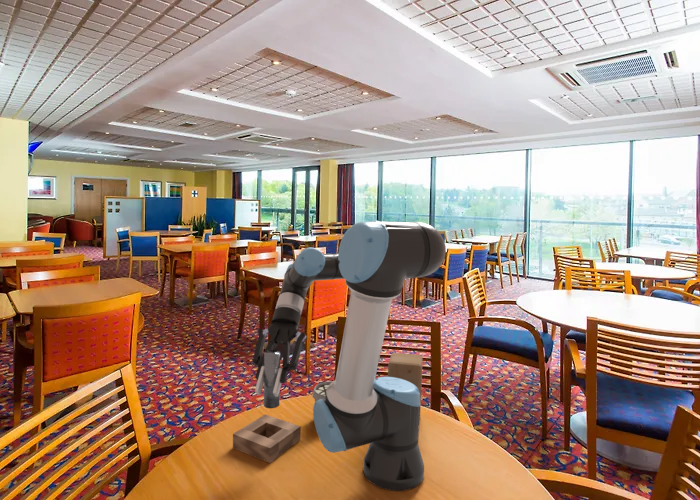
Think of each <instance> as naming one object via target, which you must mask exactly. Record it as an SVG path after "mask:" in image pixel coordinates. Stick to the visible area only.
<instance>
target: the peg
mask: <svg viewBox="0 0 700 500" xmlns="http://www.w3.org/2000/svg"><path fill="white" fill-rule="evenodd" d="M264 351H265V350H264ZM264 351H263V353H264V384H263V408H266V409H276V408H278V407H279V406H280V400H281V399H280V397H281V395H280V391H279V395H278V397H275V396H274V394H273V390H274V386H275V382H276V378H277V374H278V370H279V368H281V351H280V350H278V349H274V350H268V351H265V352H264Z"/></svg>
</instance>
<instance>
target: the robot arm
mask: <svg viewBox="0 0 700 500" xmlns="http://www.w3.org/2000/svg"><path fill="white" fill-rule="evenodd" d="M446 253H447V249H446V242H445V240H444V238H443V236H442V234H441V233H440V232H439V231H438V230H437V229H436V228H434V227H433V226H432V225H430V224H428V223H425V222H420V221H379V220H369V221H362V222H361V221H360V222H356V223H354V224H353V225H352V226H351V227H349V228H348V229H347V230H346V231H345V233H344V234H343V236H342V238H341V241H340V244H339V247H338V253H323V252H322V251H321V250H320V249H317V248H315V247H305V248H304V249H303V250H301V251H300V253H299V254H298V255H297V256H296V257H295V258H294V261H293V263H292V264H291V263H290V264H289V265H288V266H287V268H286V271H285V273H284V275H283V276H284V277H283V281H282V285H281V289H280V293H279V295H278V299H277V302H276V304H275V305H276V306H275V309H274V312H273V315H272V319H271V323H270V325H269V326H268V328H265V329H262V328H258V330H257V333H258V338H257V341H256V346H255V350H254V354H253V356H252V363H253V364H254V366H255V367H256V368H257V369H256V374H255V375H254V376H255V377H254V378H255V379H256V385H255V387H254V391H255V393H256V395H258V396H261V394H262V390H263V389H264V352H265V351H268V350H276V348H277V346H278V345H280V344H282V345H283V349H282V351H283V352H282V365H281V366H282V367H280V368H279V370H278V374H277V378H276V382H275V386H274V390H273V394H274V396H275V397H278V395H279V391H280V390H281V387H282V384H285V383H286V381H287V377H288V374H289V372H290V371H296V370H297V366H298V363H299V359H300V356H301V352H302V348H303V345H304V343H305V342H306V340H307V335H306V333H305V332H300V331H299V326H300V321H301V318H302V317H301V315H302V313H303V309H304V305H305V302H306V301H305V300H306V296H307V292H308V289H309V288H310V286H311V285H312V284H313V283H314V281H315V282H316V281H329V280H330V281H331V280H345V285H346V286H347V288H348V289H349V290H350V295H349V301H348V307H347V312H346V318H345V324H344V329H343V334H342V335H343V336H342V341H341V346H340V347H341V348H340V353H339V357H338V358H339V359H338V363H337V370H336V373H335V374H336V375H335V380H333V382H332V383H330V385H329V386H328V388H327V392H326V397H325V399H319V400H318V401H316V402H315V401H314V403H313V407H312V410H313V411H312V415H313V423H314V427H315V430H316V434H317V435H318V438H319V441H320V443H321V444H322V447H324V448H325V450H327V452H329V453H339V452H347V451H348V450H352V449H355V448H359V447H361V446H366V445H368V444H369V445H368V447H367V450H366V453H365V456H364V457H363V468H362V469H363V474H364V476H365V478H366V479H367V480H368V481H369V483H371V484H372V485H374V486H376V487H378V488H381V489H384V490H387V491H395V492H396V491H397V492H401V491H403V492H404V491H409V490H412V489H414V488H417V487H418V486H419V485H420V484H421V483H422V482H423V480H424V478H425V463H424V460H423V457H422V453H421V449H420V445H419V433H420V432H419V431H420V429H419V428H420V423H419V414H420V415H421V409H420V406H422V405H421V404H422V403H421V404H420V392H419V390H418V388H417V387H416V386H415V385H414V384H412V383H411V382H408V381H406V380H403V379H399V378H394V377H388V376H381V377H380V376H379V377H377V378H376V376H377V372H378V366H379V362H380V357H381V354H382V353H381V352H382V349H383V343H384V338H385V334H386V329H387V325H388V321H389V315H390V311H391V308H392V307H391V305H392V302H393V300H394V299H396V298H397V297H399V296H401V294H402V290H403V287H404V282H405V280H407V279H417V278H423V277H426V276H427V277H428V276H429V275H432V274H433V273H435V272H436V271H438V269H439V268H440V267H441V266H442V265H443V262H444V261H445V258H446ZM268 334H269V336H270V338H269V339H268V340H269V341H268V344H267V345H266V348H265V349H264V346H265V343H266V339H267V338H268ZM295 338H296V341H295V345H294V348H293V350H292V351H293V352H292V355H291V354H290V353H291V352H290V351H291V342H292V341H293V340H294V339H295ZM290 356H291V360H290Z"/></svg>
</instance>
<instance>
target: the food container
mask: <svg viewBox="0 0 700 500" xmlns="http://www.w3.org/2000/svg"><path fill="white" fill-rule="evenodd" d="M333 381H334V380H333ZM333 381H324V382H320V383H318V384H316V385H315V386H314V389H313V392H312V398H313V399H314V403H315V402H316V401H318V400H319V399H325V397H326V392H327V388H328V386H329V385H330V383H332V382H333Z"/></svg>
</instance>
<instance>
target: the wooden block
mask: <svg viewBox="0 0 700 500" xmlns="http://www.w3.org/2000/svg"><path fill="white" fill-rule="evenodd" d="M423 359H424V358H423V356H422V355H420V354H412V353H411V354H410V353H402V352H401V353H400V352H392V353H391V355H390V358H389V360H388V364H387V365H388V366H387V368H388V369H387V377H394V378H399V379H403V380H406V381H408V382H411V383H412V384H414V385H415V386H416V387H417V388H418V390H419V392H420V404H422V403H421V402H422V382H423V379H422V378H423ZM421 406H422V405H421ZM421 406H420V410H421V408H422V407H421ZM420 419H421V413H420V414H419V424H420V422H421V420H420Z"/></svg>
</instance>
